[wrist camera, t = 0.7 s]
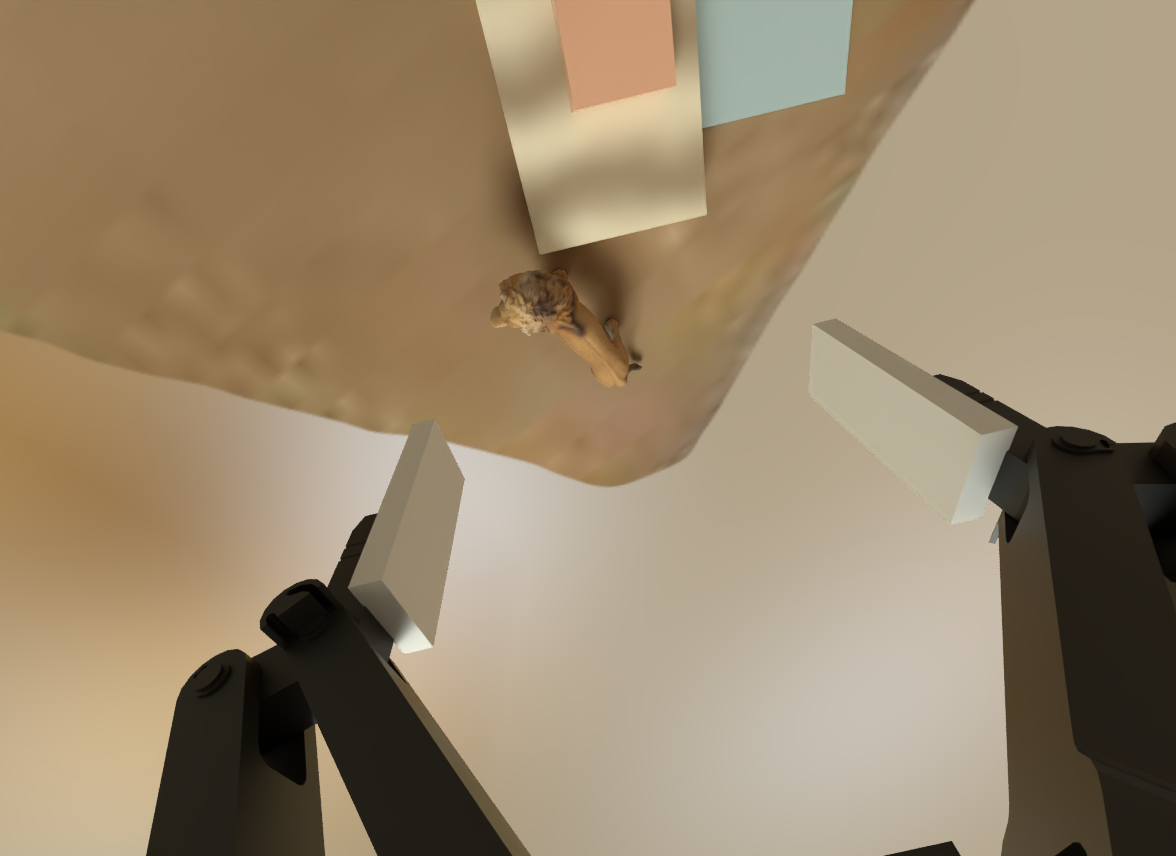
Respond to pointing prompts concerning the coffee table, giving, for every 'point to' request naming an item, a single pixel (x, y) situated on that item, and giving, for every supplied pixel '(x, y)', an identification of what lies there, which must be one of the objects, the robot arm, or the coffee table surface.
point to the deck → (595, 134)
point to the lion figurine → (562, 321)
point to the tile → (614, 49)
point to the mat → (769, 55)
